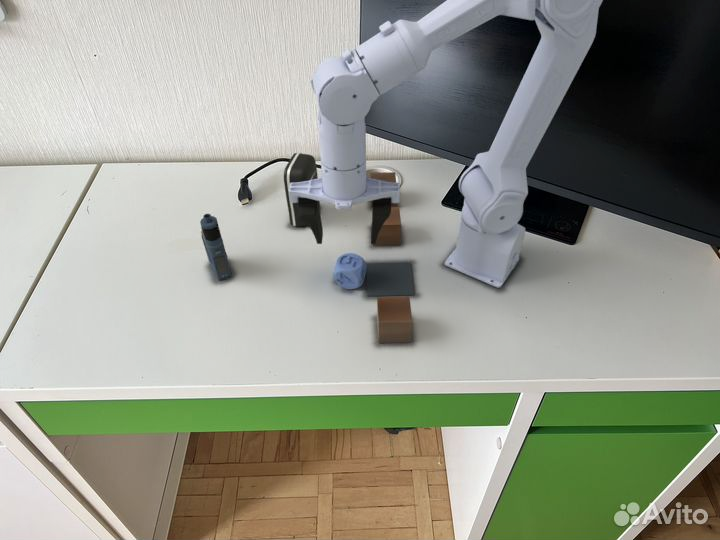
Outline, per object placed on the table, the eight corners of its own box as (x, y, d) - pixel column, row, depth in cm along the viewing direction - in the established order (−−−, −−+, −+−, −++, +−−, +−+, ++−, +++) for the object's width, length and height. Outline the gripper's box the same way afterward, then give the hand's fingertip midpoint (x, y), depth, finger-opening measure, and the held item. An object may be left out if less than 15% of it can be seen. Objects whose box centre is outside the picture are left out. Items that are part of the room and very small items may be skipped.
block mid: (400, 245, 88) (401, 224, 84) (373, 245, 88) (373, 225, 84) (398, 227, 91) (399, 206, 88) (372, 228, 91) (372, 207, 88)
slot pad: (414, 295, 80) (414, 294, 80) (367, 296, 80) (367, 295, 80) (410, 263, 85) (410, 262, 84) (366, 264, 85) (366, 263, 84)
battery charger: (310, 230, 91) (304, 174, 83) (289, 227, 91) (281, 171, 83) (322, 205, 95) (317, 150, 87) (302, 202, 96) (295, 147, 88)
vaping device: (218, 283, 82) (200, 223, 74) (208, 262, 85) (190, 203, 77) (234, 277, 83) (218, 218, 74) (224, 257, 86) (208, 198, 78)
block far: (396, 207, 95) (397, 187, 92) (371, 208, 95) (370, 187, 92) (394, 192, 98) (395, 172, 95) (370, 193, 98) (370, 172, 95)
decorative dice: (359, 291, 80) (359, 273, 78) (334, 286, 81) (332, 268, 78) (366, 273, 83) (366, 255, 80) (342, 269, 84) (340, 250, 81)
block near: (410, 342, 73) (412, 321, 70) (378, 343, 73) (378, 322, 70) (408, 317, 77) (409, 296, 73) (376, 318, 77) (377, 297, 73)
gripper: (281, 176, 64) (293, 258, 73) (402, 176, 64) (398, 258, 73) (288, 145, 69) (298, 225, 78) (400, 145, 69) (396, 225, 78)
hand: (346, 239), depth 76 cm, fingers open, 7 cm apart
